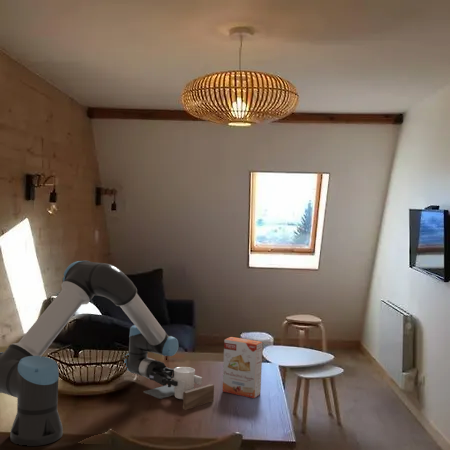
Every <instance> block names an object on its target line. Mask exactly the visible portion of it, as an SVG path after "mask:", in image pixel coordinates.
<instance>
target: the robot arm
mask: <svg viewBox="0 0 450 450" xmlns="http://www.w3.org/2000/svg"><path fill="white" fill-rule="evenodd" d="M63 276H64V277H63ZM63 276H62V282H61V285H60V286H61V291H60V292H58V294H57V295H56V296H55V298H54V299H53V300H52V301H51V303H50V304H49V305H48V306H47V308H46V309H45V310H44V311H43V312H42V313H41V315H40V316H39V317H38V318H37V319H36V321H35V322H34V323H33V324H32V326H31V327H30V328H29V329H28V330H27V332H26V333H25V334H24V335H23V337H21V338H20V340H19V341H18V342H13V343H11V344H10V345H9V346H8V347H7V348H6V350H5V351H4V352H3V351H2V352H0V394H4V395H8V396H10V397H14V398H16V399H17V401H16V405H17V406H16V407H17V408H16V415H15V418H14V420H13V423H12V427H11V429H10V433H9V434H10V437H9V439H10V442H12V443H13V444H15V445H17V444H19V445H18V446H22V445H27V446H26V447H39V446H44V445H49V444H52V443H54V442H57V441H59V439H61V438H62V437H63V435H64V434H63V429H64V427H63V424H62V423H63V422H62V421H61V418H60V414H59V412H58V403H59V402H58V401H59V400H58V399H59V396H58V395H59V376H60V375H59V374H60V373H59V365H58V363H57V362H56V360H55V359H53V358H52V357H51V358H50V357H48V356H44V355H43V354H44V353H45V352H46V351H47V350H48V348H49V347H50V346H51V344H52V343H53V342H54V341H55V339H56V338H57V337H58V335H59V334H60V333H61V332H62V331H63V329H64V328H65V326H66V325H67V324H68V323H69V321H70V320H71V319H72V317H73V316H74V315H75V314H76V313H77V311H78V310H79V309H80V308H81V306H84V305H88V304H89V303H90V301H92V299H93V298H94V296H95V297H96V296H98V297H104V298H106V299H108V300H110V301H111V302H112V303H113V304H114V305H115V306H116V307H120V308H121V309H122V311H123V312H124V314H125V315H126V316H127V317H128V318H129V320H130V321H131V322H132V323H133V325H132V326H130V327H129V336H128V338H129V340H128V341H129V342H128V353H127V354H125V356H127V355H129V357H128V359H125V361H124V363H126V367H128V368H127V370H126V371H127V372H130V373H131V374H135V375H138V376H140V377H144V378H146V379H147V380H150V381H154V382H155V383H157V384H160V385H161V386H166V385H168V387H171V385H172V386H175V387H178V388H181V389H183V390H184V389H185V384H186V382H185V381H182V380H179V379H176V378H174V369H175V368H178V367H179V366H178V367H177V366H175V367H174V368H170V367H167V366H166V364H165V362H163V361H160V360H157V359H153V358H151V357H148V353H153V354H157V355H162V356H165V357H172V356H175V354H177V351H178V349H179V346H180V345H179V340H178V339H177V338H176V337H174V336H172V335H168V333H167V332H166V331H165V329H164V328H163V327H162V326H161V324H160V323H159V322H158V320H157V319H156V318H155V316H154V315H153V313H152V312H151V311H150V309H149V308H148V307H147V304H145V303H144V301H143V300H142V298H141V297H140V295H139V294H138V289H137V287H136V285H135V284H134V282H133V281H132V280H131V279H130V278H129V277H128V276H127V275H126V274H125V273H124V272H123V271H122V270H121V269H120V268H118V267H116V266H115V265H113V264H110V263H104V262H97V261H96V262H93V261H89V260H78V261H74V262H72V263H70V264H69V265H68V266H67V267H66V269H65V270H64V272H63ZM194 384H197V385H199V386H202V385H203V376H199V375H196V374H195V378H194Z"/></svg>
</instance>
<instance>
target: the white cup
mask: <svg viewBox="0 0 450 450" xmlns="http://www.w3.org/2000/svg"><path fill="white" fill-rule="evenodd" d="M173 369H174V368H173ZM195 375H196V369H195V368H193V367H189V366H178V368H175V369H174V378H176V379H179V380H182V381H185V382H186V384H185V389H184V390H183V389H181V388H178V387H175V386H174V395H173V396H174V397H175V398H176V399H179V400H183V392H185V391H188V390H192V389H195V388H194V386H195V383H194V378H195Z"/></svg>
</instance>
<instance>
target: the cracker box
mask: <svg viewBox="0 0 450 450" xmlns="http://www.w3.org/2000/svg"><path fill="white" fill-rule="evenodd" d="M223 341H224V342H223V343H224V344H223V362H222V363H223V365H222V367H223V370H222V373H223V374H222V389H221V390H222V392H223V393H227V394H231V395H232V394H233V395H238V396H241V397H246V398H250V399H256V398H258V397H259V395H261V388H262V387H261V386H262V369H263V368H262V367H263V366H262V363H263V361H262V360H263V341H258V340H254V339H253V340H252V339H248V338H247V339H246V338H241V337H234V336H230V337H227V338H225V339H224V340H223Z"/></svg>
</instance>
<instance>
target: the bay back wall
mask: <svg viewBox="0 0 450 450" xmlns="http://www.w3.org/2000/svg"><path fill="white" fill-rule="evenodd" d="M214 394H215V385H214V384H212V383H209V384H207V385H203V386H202V385H201V386H200V387H196V388H193V389H192V390H188V391H185V392H183V399H182V409H183V410H185V411H186V410H190V409H193V408H197V407H199V406H203V405H205V404H206V405H207V404H209V403H211V402H214V396H215V395H214Z"/></svg>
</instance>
